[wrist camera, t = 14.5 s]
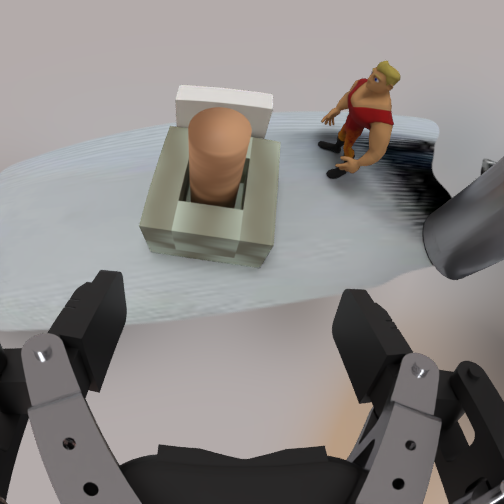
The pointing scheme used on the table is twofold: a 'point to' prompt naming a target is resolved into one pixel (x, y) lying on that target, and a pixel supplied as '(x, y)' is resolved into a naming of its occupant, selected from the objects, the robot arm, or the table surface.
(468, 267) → the robot arm
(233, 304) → the table surface
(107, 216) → the table surface
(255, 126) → the backstop wall
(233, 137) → the dowel
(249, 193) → the socket block
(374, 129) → the action figure
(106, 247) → the table surface
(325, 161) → the table surface
